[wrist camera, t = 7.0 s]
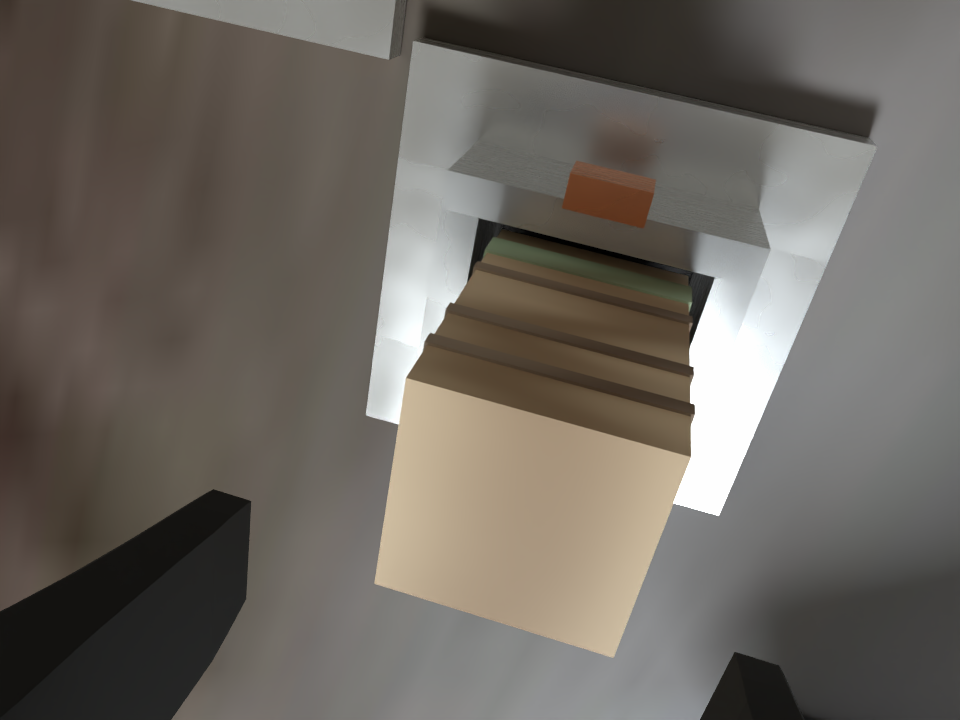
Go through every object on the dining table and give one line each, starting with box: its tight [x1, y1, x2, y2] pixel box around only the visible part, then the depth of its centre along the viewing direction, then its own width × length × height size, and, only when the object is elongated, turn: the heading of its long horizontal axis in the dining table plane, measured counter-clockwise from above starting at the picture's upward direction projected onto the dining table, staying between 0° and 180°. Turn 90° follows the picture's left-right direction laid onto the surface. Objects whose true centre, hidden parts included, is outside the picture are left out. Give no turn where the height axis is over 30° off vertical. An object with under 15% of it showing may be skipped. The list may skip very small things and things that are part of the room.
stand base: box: [366, 37, 878, 516], centre depth 18 cm, size 10×10×4 cm
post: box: [374, 229, 695, 658], centre depth 15 cm, size 4×4×7 cm
